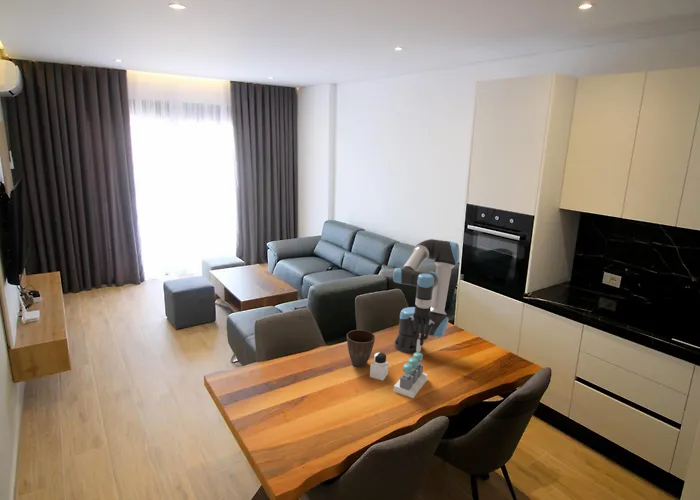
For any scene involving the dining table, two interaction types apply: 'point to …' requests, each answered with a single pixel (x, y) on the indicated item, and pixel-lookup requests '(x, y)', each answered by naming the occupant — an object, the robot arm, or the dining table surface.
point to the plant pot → (360, 346)
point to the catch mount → (411, 383)
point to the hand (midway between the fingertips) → (418, 350)
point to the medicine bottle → (379, 367)
